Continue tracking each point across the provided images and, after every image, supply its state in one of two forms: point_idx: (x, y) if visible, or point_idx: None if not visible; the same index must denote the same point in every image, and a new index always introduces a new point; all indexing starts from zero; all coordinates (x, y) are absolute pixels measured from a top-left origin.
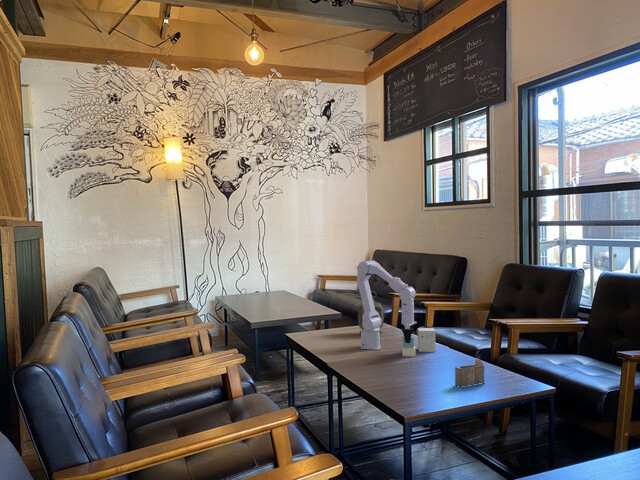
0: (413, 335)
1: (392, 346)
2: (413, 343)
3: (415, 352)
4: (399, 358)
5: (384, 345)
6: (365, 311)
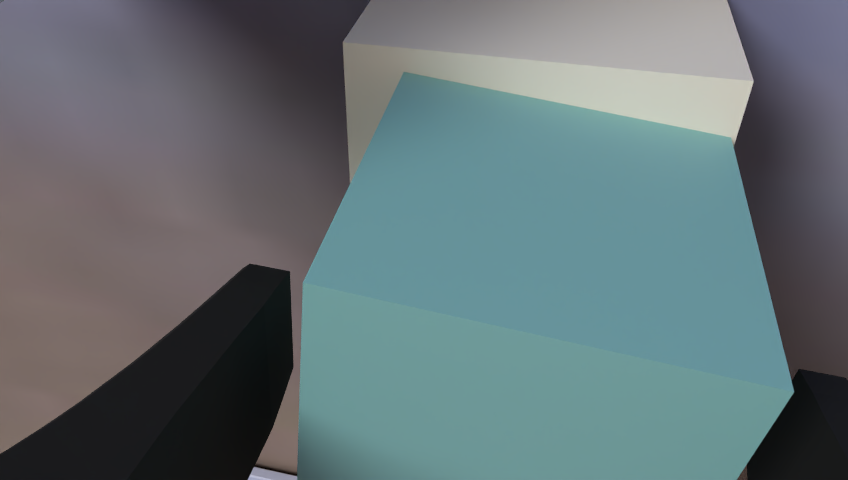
0: (348, 315)
1: (53, 302)
2: (751, 231)
3: (735, 31)
4: (823, 322)
5: (47, 386)
6: None
